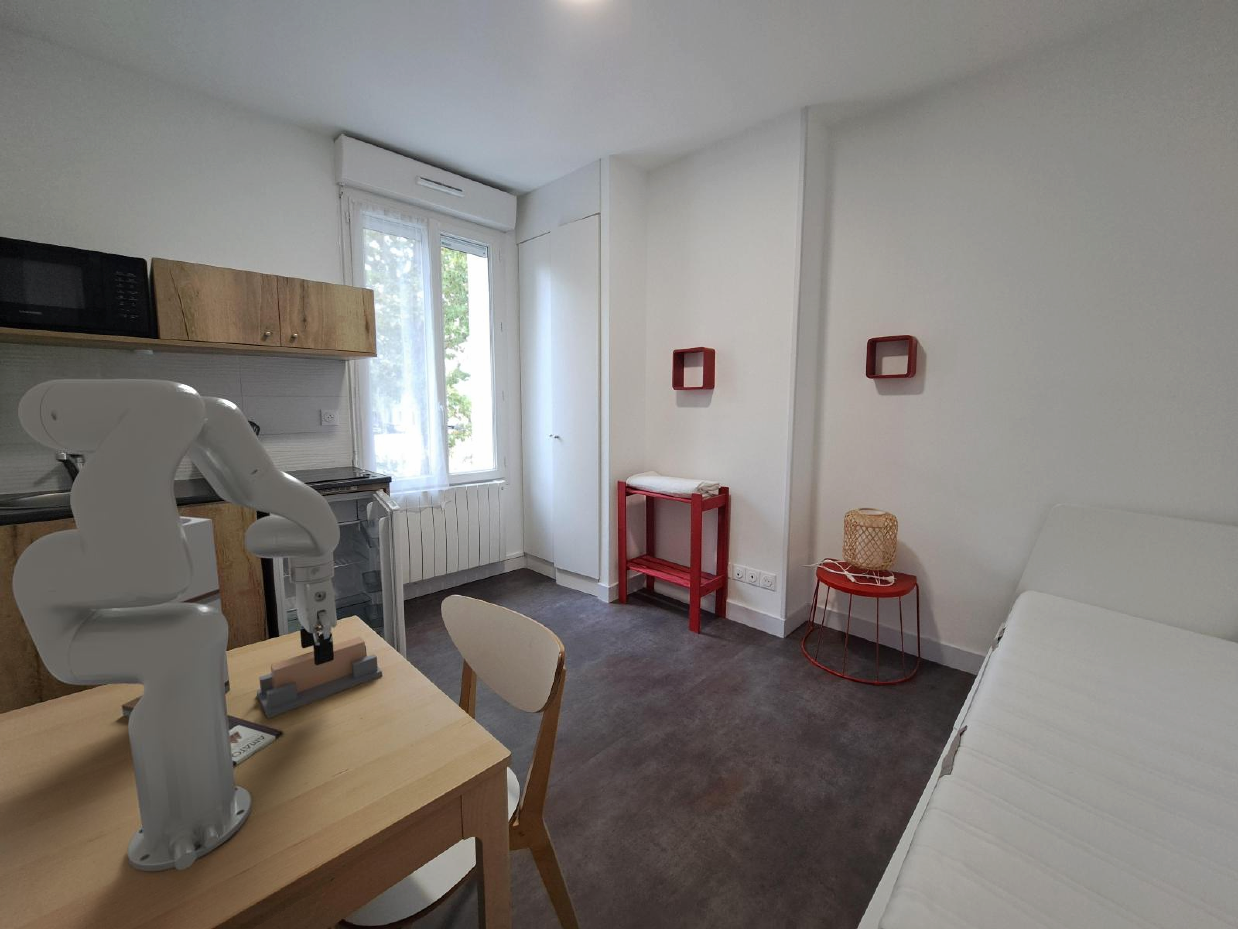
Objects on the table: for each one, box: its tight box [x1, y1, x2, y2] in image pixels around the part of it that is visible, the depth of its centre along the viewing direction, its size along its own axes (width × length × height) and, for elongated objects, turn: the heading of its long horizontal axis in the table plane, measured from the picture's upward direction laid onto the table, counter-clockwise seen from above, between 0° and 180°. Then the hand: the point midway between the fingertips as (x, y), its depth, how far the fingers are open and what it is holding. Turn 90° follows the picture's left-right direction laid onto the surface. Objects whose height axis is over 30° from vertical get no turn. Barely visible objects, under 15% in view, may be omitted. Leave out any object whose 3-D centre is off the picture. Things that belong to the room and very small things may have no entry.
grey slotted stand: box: [256, 644, 383, 719], centre depth 100 cm, size 10×20×4 cm, turn 135°
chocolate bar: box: [227, 714, 284, 768], centre depth 84 cm, size 9×1×18 cm
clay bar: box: [270, 636, 367, 693], centre depth 100 cm, size 3×16×6 cm, turn 135°
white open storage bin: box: [121, 515, 231, 718], centre depth 92 cm, size 11×11×35 cm
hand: (317, 654), depth 99 cm, fingers open, 9 cm apart
